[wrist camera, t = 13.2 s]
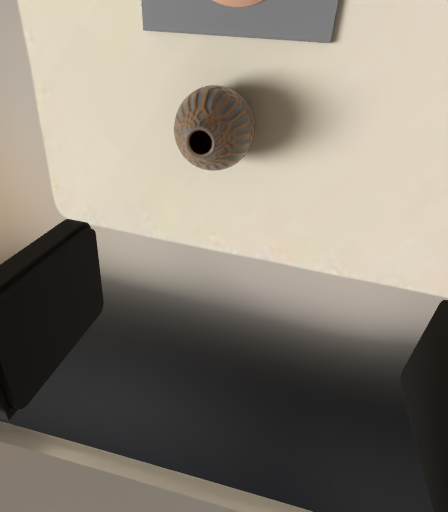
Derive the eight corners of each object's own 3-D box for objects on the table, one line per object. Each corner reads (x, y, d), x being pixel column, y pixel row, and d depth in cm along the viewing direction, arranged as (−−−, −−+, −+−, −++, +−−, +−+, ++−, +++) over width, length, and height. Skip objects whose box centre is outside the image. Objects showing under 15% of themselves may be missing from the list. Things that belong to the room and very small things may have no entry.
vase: (271, 134, 33) (262, 159, 26) (213, 169, 36) (190, 201, 29) (233, 65, 31) (211, 71, 24) (174, 109, 34) (138, 126, 26)
